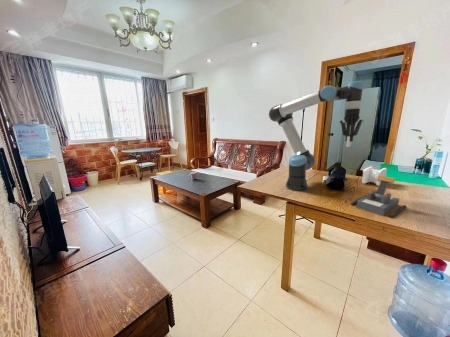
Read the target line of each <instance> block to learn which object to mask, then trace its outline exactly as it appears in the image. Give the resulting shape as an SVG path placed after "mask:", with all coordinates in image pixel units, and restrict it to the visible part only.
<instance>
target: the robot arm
mask: <svg viewBox="0 0 450 337" xmlns="http://www.w3.org/2000/svg"><path fill="white" fill-rule="evenodd" d="M347 83H348V84H347V85H346V86H341V87H338V86H337V87H336V86H333V85H325V86H323V87H322V88H321V89H318V90H317V91H314V92H312V93H309V94H307V95H304V96H302V97H299V98H297V99H294V100H291V101H288V102H287V103H280V104H277V105H274V106H272V107H271V108H270V109H269V111H268V117H269V119H270V121H272V122H277V124H278V126H279V127H281V128H282V129H283V132H284V134H285V136H286V139H287V141H288V143H289V144H290V147H291V149H292V150H293V152H294V155H292V156H290V157H289V159H288V178H287V180H286V183H285V187H287V188H286V189H288V188H289V189H288V190H290V189H292V190H291V191H296V190H298V192H301V191H306V190H308V186H309V184H308V182H307V179H306V177H307V176H306V175H307V171H308V170H311V169H312V168H313V167H314V166H315V164H316V157H315V156H314V155H313V154H312V153H311V152H310V150H309V149H306V147H305V145H304V143H303V140H302V139H301V137H300V135H299V132H298V130H297V129H296V126H295V124H294V122H293V121H294V117H293V113H295V112H298V111H302V110H304V109H306V108H310V107H312V106H316V105H318V104H322V103H325V102H333V101H340V100H345V101H346V102H345V112H344V118H342V120H340V121H339V122H340V125H341V132H342V136H345V142H346V144H345V145H346V146H345V147H346V148H349V147H352V142H353V141H354V137H355V136H357V135H358V133H359V130H360V128H361V126H362V123H364V119H361V118H360V113H361V112H360V111H361V110H360V109H361V104H362V96H363V88H364V86H363V84H364V82H363V81H362V80H361V81H360V80H355V81H351V82H347Z"/></svg>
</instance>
